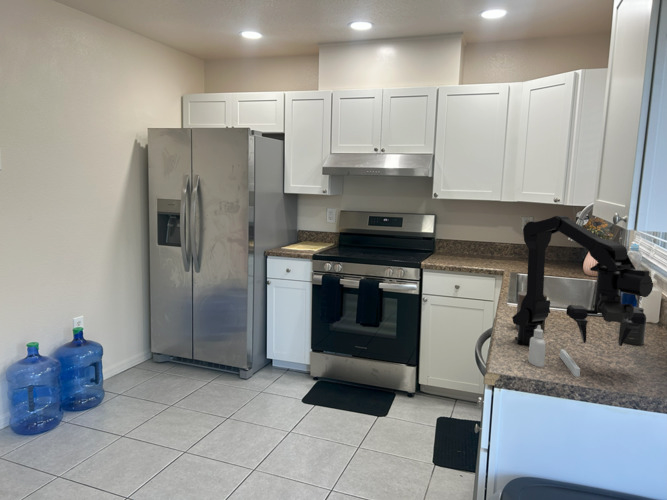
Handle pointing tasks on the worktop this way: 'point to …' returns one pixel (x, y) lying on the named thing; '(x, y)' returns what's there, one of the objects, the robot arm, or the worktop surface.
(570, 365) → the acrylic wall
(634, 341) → the supplement bottle
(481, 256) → the worktop surface
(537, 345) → the eye dropper bottle
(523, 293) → the pillar candle
